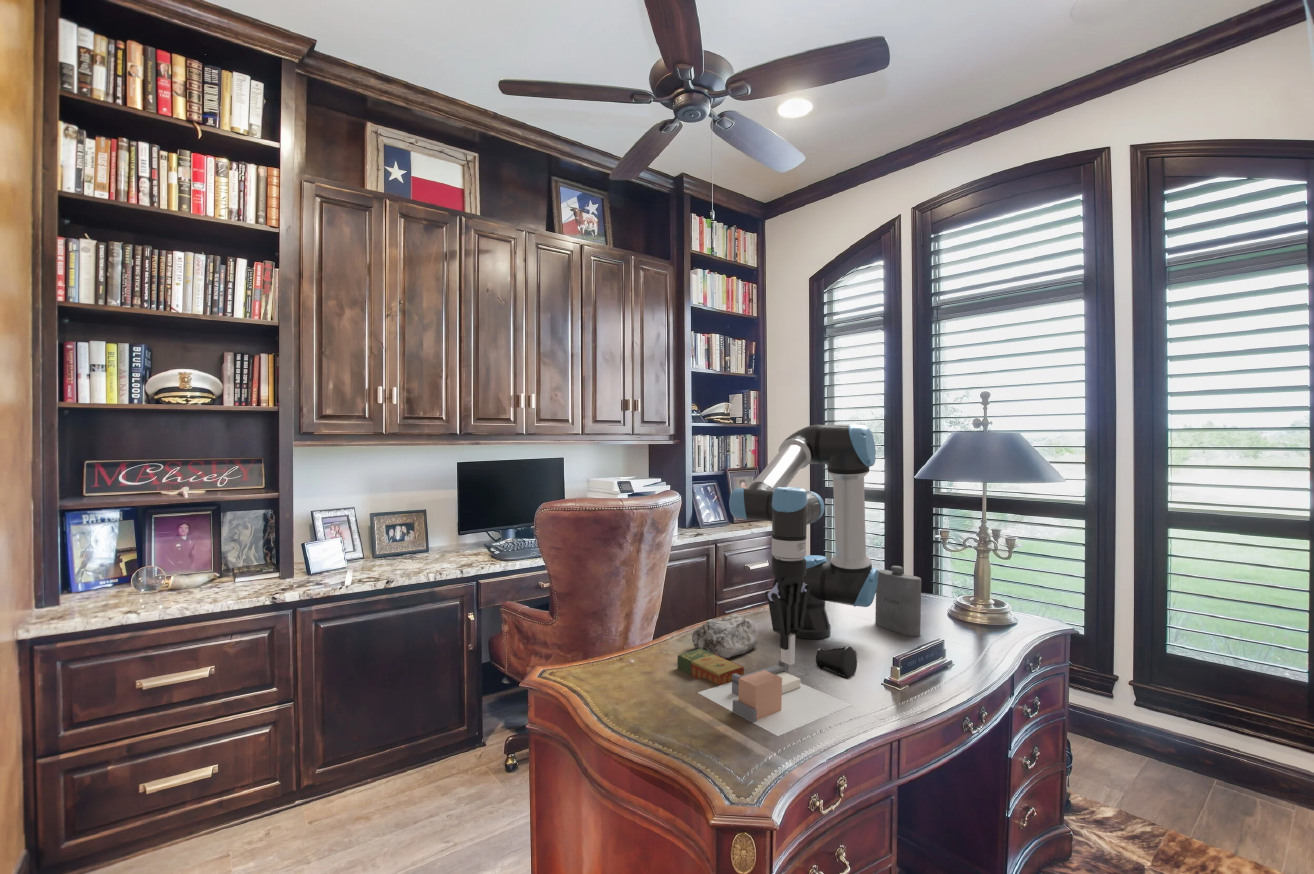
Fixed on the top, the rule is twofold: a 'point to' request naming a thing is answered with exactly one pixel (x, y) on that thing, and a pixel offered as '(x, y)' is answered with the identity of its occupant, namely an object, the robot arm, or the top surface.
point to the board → (795, 708)
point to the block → (761, 692)
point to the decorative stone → (726, 636)
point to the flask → (898, 602)
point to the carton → (708, 666)
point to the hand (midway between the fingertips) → (787, 662)
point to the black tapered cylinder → (838, 660)
